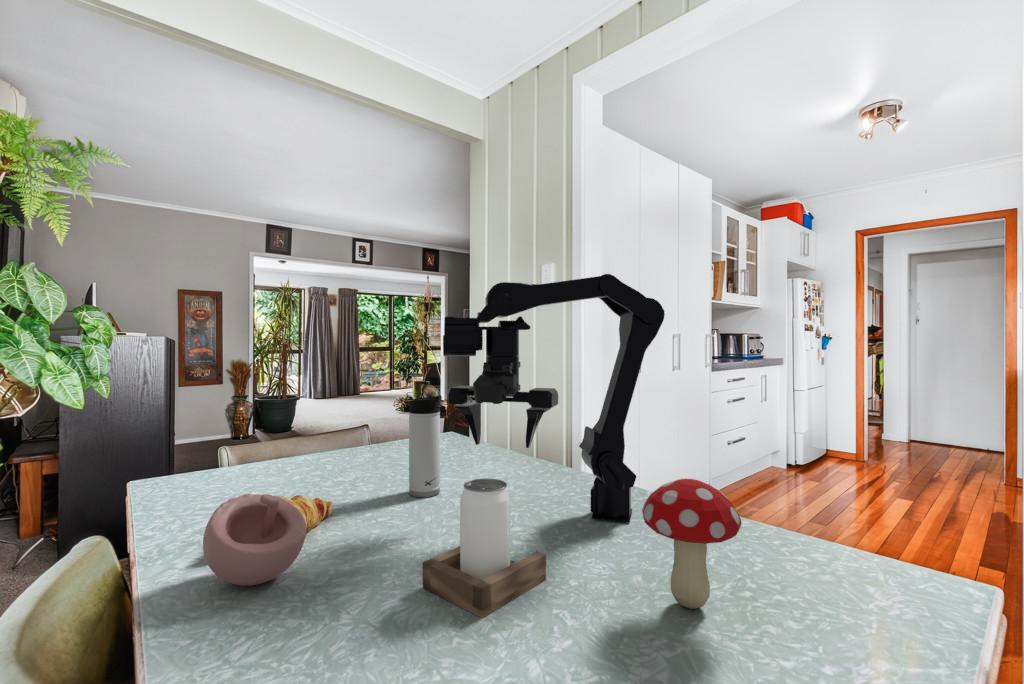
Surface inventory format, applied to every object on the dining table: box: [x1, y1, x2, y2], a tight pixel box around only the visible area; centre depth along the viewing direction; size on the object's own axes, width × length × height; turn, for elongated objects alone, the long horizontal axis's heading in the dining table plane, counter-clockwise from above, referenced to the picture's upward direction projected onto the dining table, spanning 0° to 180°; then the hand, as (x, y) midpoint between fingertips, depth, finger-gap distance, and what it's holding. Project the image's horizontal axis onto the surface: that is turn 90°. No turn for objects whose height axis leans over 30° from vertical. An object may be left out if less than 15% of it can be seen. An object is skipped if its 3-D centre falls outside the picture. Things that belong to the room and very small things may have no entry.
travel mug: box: [408, 395, 442, 498], centre depth 103 cm, size 6×7×20 cm
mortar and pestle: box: [202, 493, 307, 587], centre depth 66 cm, size 12×12×12 cm
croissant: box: [276, 495, 334, 534], centre depth 81 cm, size 21×10×8 cm, turn 154°
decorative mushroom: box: [641, 478, 743, 610], centre depth 59 cm, size 11×11×15 cm
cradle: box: [422, 545, 547, 619], centre depth 65 cm, size 12×10×3 cm
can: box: [459, 478, 511, 580], centre depth 65 cm, size 6×6×12 cm
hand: (502, 445), depth 87 cm, fingers open, 9 cm apart
